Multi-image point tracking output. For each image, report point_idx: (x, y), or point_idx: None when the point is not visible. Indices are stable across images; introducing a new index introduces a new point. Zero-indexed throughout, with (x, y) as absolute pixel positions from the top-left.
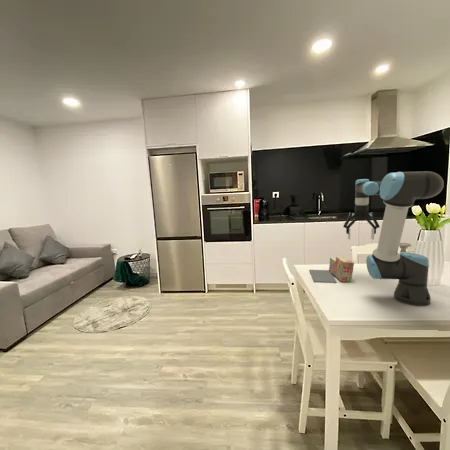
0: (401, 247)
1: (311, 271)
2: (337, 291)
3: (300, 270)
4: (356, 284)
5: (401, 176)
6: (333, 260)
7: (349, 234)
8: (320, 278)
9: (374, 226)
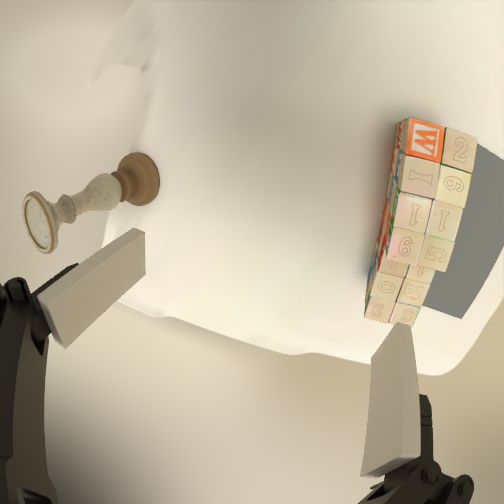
0: (54, 212)
1: (470, 297)
2: (491, 53)
3: (483, 323)
4: (387, 91)
5: None
6: (429, 283)
7: (412, 374)
8: (496, 202)
9: (12, 319)
